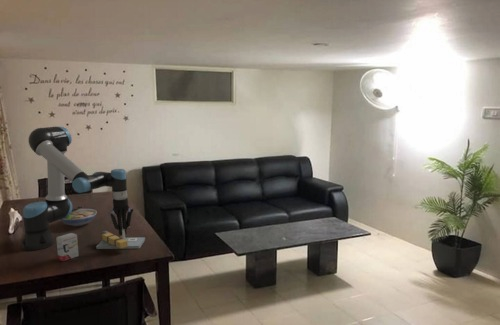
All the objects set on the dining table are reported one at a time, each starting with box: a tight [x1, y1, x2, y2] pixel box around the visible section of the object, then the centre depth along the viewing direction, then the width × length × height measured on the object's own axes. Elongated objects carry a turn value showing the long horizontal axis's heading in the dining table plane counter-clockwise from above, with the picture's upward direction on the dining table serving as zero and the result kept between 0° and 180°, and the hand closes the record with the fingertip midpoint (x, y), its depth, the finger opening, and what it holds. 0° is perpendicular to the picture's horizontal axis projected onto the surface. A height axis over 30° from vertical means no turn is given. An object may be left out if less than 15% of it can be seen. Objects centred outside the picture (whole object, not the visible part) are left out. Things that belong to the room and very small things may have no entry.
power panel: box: [95, 236, 146, 250], centre depth 214 cm, size 23×13×2 cm, turn 92°
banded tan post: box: [101, 230, 128, 250], centre depth 209 cm, size 22×4×5 cm, turn 47°
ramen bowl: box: [59, 206, 98, 227], centre depth 247 cm, size 25×23×8 cm
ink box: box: [55, 232, 79, 262], centre depth 195 cm, size 9×5×12 cm, turn 146°
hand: (123, 240), depth 208 cm, fingers closed
